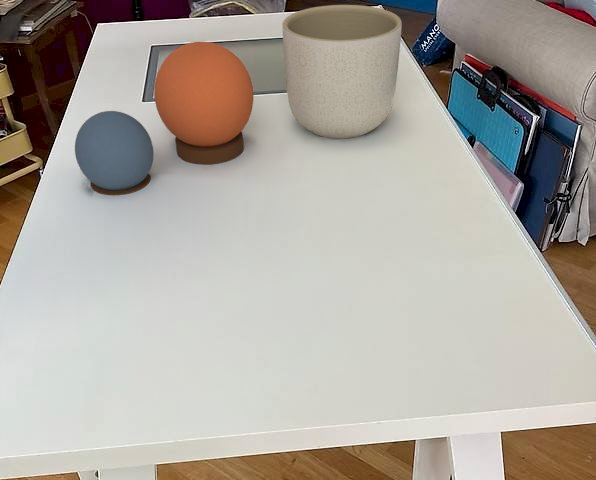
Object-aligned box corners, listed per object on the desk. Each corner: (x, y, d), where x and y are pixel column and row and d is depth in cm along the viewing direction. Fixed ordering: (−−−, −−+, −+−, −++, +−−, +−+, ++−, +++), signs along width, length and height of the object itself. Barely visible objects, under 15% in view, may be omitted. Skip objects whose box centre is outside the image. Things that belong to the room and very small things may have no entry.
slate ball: (74, 208, 96) (52, 128, 88) (103, 174, 103) (85, 97, 96) (145, 214, 94) (129, 132, 87) (169, 179, 101) (157, 100, 94)
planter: (414, 137, 109) (423, 30, 99) (309, 157, 105) (307, 47, 95) (367, 98, 121) (371, -2, 111) (271, 114, 117) (266, 13, 107)
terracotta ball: (150, 167, 104) (131, 59, 94) (180, 127, 114) (166, 26, 104) (244, 173, 102) (235, 63, 92) (266, 132, 112) (260, 29, 102)
